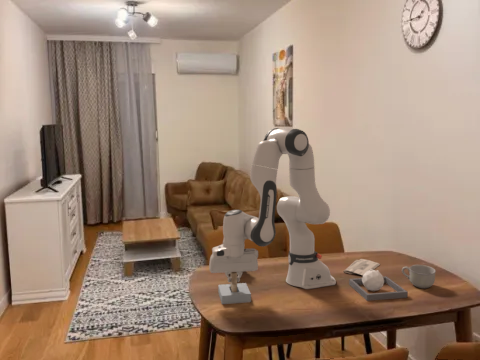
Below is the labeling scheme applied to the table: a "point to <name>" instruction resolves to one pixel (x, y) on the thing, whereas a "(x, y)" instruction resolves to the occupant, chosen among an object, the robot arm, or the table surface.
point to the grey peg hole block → (234, 294)
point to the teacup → (420, 275)
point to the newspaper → (361, 266)
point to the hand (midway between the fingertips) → (233, 281)
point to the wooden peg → (233, 281)
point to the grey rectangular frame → (379, 296)
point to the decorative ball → (373, 280)
